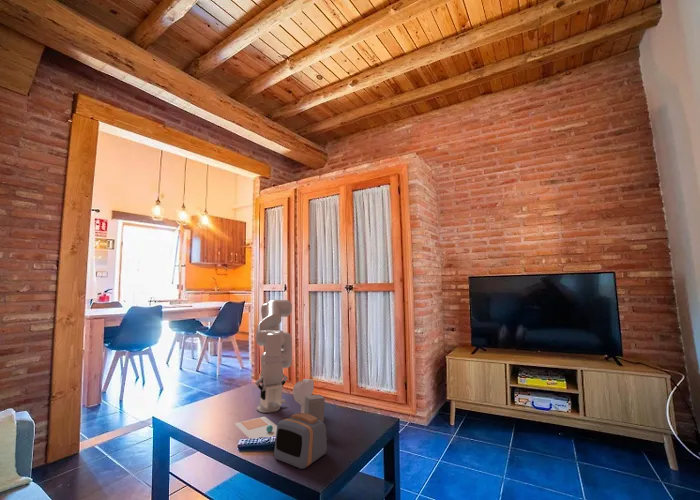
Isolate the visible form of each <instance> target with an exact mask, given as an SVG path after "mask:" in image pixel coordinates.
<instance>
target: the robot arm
mask: <svg viewBox="0 0 700 500" xmlns="http://www.w3.org/2000/svg"><path fill="white" fill-rule="evenodd" d="M260 307H261V309H260V314H261V319H262V320H261V321H260V322H259V323H258V325H257V326H256V332H255V343H256V345H258V346H263V347H264V349H265V351H264V352H263V353H261V354H260V355H261V356H260V365H261V369H260V377H259V378H258V379H257V380H256V381H255V382H254V384H255V385H256V387H257V388H258V389H259V390H260V397H261V399H263V400H265V393H266V392H265V388H266V387H267V385H272V384H277V383H279V384H281V385H282V388H283V387H284V385H285V384H286V382H287V380H288V379H289V378H288V376H286V375H285V374H284V369H286V368H290V367H291V366H292V363H293V342H292V341H293V340H292V339H293V338H292V335H291V334H290V333H289V332H284V331H283V330H280V324H281V322H282V318H283V317H285V318H286V317H289V316H290V315H291V313H292V311H293V305H292V302H291V300H288V299H272V300H269V301H267V302H265V303H263V304H262V305H261V306H260ZM261 384H262V385H261ZM260 397H259V398H260ZM285 403H286V399H285V398H284V399H283V398H282V404H285ZM280 409H281V405H279V404H277V403H276V402H274V401H272V402H268V409H267V408H265V407H264V406H262V405H261V404H260V403H259V405H258V406H257V407H256V410H257V411H258V412H259V413H263V414H264V413H265V414H268V413H269V414H270V413H275V412H278V411H279V410H280Z"/></svg>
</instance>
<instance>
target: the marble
mask: <svg viewBox="0 0 700 500" xmlns="http://www.w3.org/2000/svg"><path fill="white" fill-rule="evenodd" d="M266 430H267V432H271V431H272V430H273V427H272V426H271V425H269V426H267V428H266Z"/></svg>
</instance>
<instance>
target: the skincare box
mask: <svg viewBox="0 0 700 500" xmlns="http://www.w3.org/2000/svg"><path fill="white" fill-rule="evenodd" d="M304 413H306V414H310V415H312V416H314V417H316V418H317V419H318V420H320V421H322V422H323V423H324V424H325V422H324V421H325V397H324V396H322V395H321V394H314V395H313V394H312V395H311V396H305V408H304Z"/></svg>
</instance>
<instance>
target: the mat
mask: <svg viewBox="0 0 700 500" xmlns="http://www.w3.org/2000/svg"><path fill="white" fill-rule="evenodd" d="M269 425H271V426H272V427H273V430H272V431H271V432H267V430H266V428H267V426H269ZM234 426H235V427H237V429H238V430H240V431H241V432H242V433H243V434H244V435H245V436H246V438H248V439H249V440H250V438H259V437H273V436H276V431H277V424H276V423H274V422H273V421H271V420H270V419H269V418H268V417H266V416H261V417H257V418H251V419H247V420H244V421H240V422H235V423H234Z"/></svg>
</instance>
